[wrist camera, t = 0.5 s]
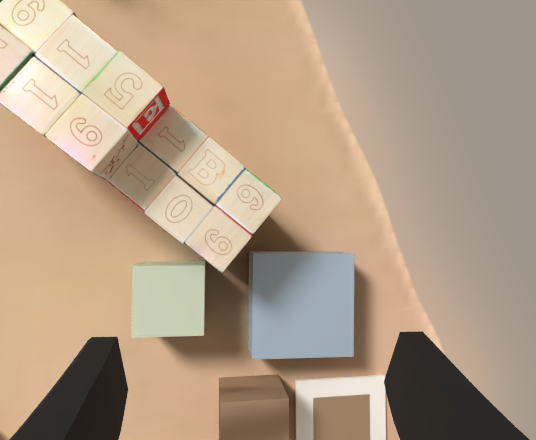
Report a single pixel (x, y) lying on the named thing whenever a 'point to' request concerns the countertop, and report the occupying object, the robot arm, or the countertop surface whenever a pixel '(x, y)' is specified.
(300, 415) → the white flat square frame
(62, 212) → the countertop surface
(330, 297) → the base block
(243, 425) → the walnut cube
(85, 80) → the stack of blocks
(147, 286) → the sage cube
